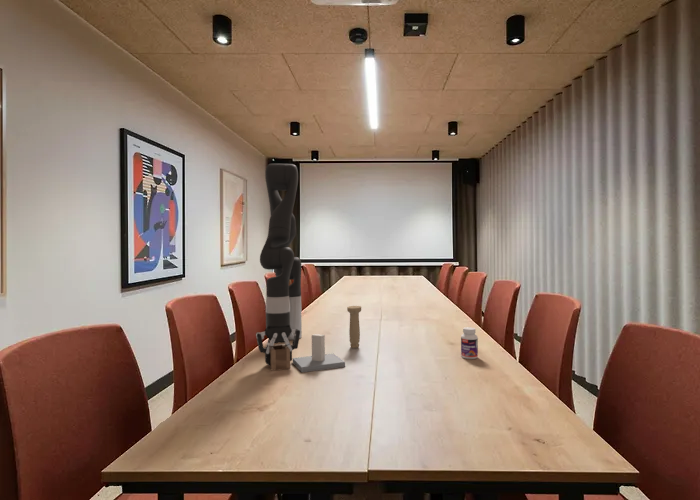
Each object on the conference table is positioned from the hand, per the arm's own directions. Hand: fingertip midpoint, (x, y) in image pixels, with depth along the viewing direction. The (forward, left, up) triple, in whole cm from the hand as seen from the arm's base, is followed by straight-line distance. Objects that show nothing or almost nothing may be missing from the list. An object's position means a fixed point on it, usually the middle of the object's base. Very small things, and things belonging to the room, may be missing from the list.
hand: (278, 363), depth 129 cm
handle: (-12, +31, -1) cm, 33 cm away
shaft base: (+3, +12, -1) cm, 13 cm away
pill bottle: (+16, +61, -1) cm, 63 cm away
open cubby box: (0, 0, -1) cm, 1 cm away
